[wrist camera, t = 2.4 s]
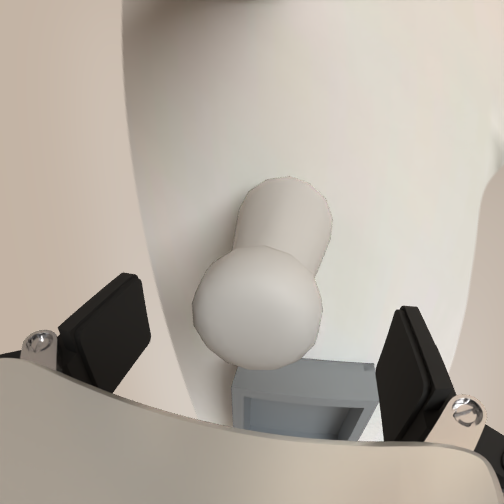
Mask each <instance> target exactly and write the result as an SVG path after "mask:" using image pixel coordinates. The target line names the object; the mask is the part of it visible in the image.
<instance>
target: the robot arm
mask: <svg viewBox="0 0 504 504" xmlns="http://www.w3.org/2000/svg"><path fill="white" fill-rule="evenodd" d="M58 329H59V332H60V335H59V336H58V337H57V335H56V334H55V333H54V332H52V331H50V330H40V331H37V332H34V333H32V334H30V335H29V336H28V337H27V338H26V339H25V340H24V342H23V345H22V350H20V351H15V352H10V353H5V354H1V355H0V504H504V435H502V434H500V433H499V432H497V431H496V430H494V429H492V428H491V427H489V426H487V425H486V424H485V423H486V420H487V413H486V409H485V407H484V405H483V404H482V403H481V402H480V401H479V400H478V399H476V398H475V397H472V396H470V395H464V394H462V395H457V396H456V393H455V390H454V388H453V385H452V383H451V380H450V377H449V375H448V372H447V370H446V367H445V365H444V362H443V360H442V358H441V355H440V353H439V351H438V348H437V346H436V345H435V343H434V341H433V339H432V337H431V334H430V332H429V330H428V328H427V326H426V324H425V321H424V319H423V317H422V315H421V313H420V311H419V309H418V307H413V306H402V307H401V308H400V310H396V311H395V313H394V316H393V319H392V323H391V326H390V329H389V332H388V335H387V338H386V341H385V344H384V347H383V350H382V353H381V355H380V358H379V361H378V364H377V367H376V372H375V376H376V382H377V389H378V396H379V403H380V410H381V418H382V427H383V436H384V441H345V440H326V439H313V438H302V437H293V436H284V435H277V434H270V433H263V432H257V431H251V430H245V429H239V428H234V427H229V426H224V425H219V424H214V423H210V422H206V421H201V420H197V419H193V418H189V417H185V416H181V415H178V414H174V413H171V412H167V411H163V410H160V409H157V408H154V407H150V406H147V405H144V404H141V403H138V402H135V401H132V400H129V399H126V398H123V397H120V396H117V395H115V394H112V393H113V392H114V390H115V389H116V388H117V386H118V385H119V384H120V382H121V381H122V379H123V378H124V377H125V375H126V374H127V372H128V371H129V370H130V368H131V367H132V366H133V364H134V363H135V362H136V360H137V359H138V357H139V356H140V355H141V353H142V352H143V351H144V350H145V348H146V347H147V346H148V344H149V342H150V339H151V333H150V328H149V323H148V317H147V312H146V306H145V300H144V294H143V288H142V282H141V280H140V279H138V276H137V275H135V274H129V273H121V274H120V275H119V276H117V277H116V278H115V279H114V280H112V281H111V282H110V283H109V284H108V285H106V286H105V287H104V288H103V289H102V290H100V291H99V292H98V293H97V294H96V295H94V296H93V297H92V298H91V299H90V300H89V301H87V302H86V303H85V304H84V305H83V306H82V307H80V308H79V309H78V310H77V311H76V312H75V313H73V314H72V315H71V316H70V317H69V318H68V319H67V320H65V321H64V322H63V323H62V324H61V325H60V326H59V327H58Z"/></svg>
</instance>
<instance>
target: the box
mask: <svg viewBox="0 0 504 504" xmlns="http://www.w3.org/2000/svg"><path fill="white" fill-rule="evenodd" d="M231 391H232V414H233V427H234V428H239V429H245V430H251V431H257V432H263V433H270V434H277V435H284V436H293V437H302V438H313V439H326V440H345V441H358V439H359V438H360V436H361V434H362V433H363V431H364V429H365V427H366V425H367V424H368V422H369V420H370V418H371V416H372V414H373V412H374V410H375V408H376V406H377V405H378V403H379V396H378V389H377V382H376V376H375V368H374V364H372V363H354V362H339V361H326V360H315V359H305V358H301V359H300V360H299V361H296V362H294V363H291V364H289V365H286V366H284V367H281V368H279V369H275V370H248V369H245V368H242V367H239V366H238V368H237V371H236V374H235V377H234V380H233V383H232V386H231Z"/></svg>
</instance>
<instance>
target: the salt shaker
mask: <svg viewBox="0 0 504 504" xmlns="http://www.w3.org/2000/svg"><path fill="white" fill-rule="evenodd" d="M332 221H333V218H332V215H331V212H330V209H329V206H328V203H327V200H326V198H325V197H324V196H323V195H322V194H321V193H319V192H318V191H317V190H316V189H315V188H314V187H313V186H312V185H311V184H310V183H307V182H305V181H302V180H299V179H296V178H293V177H290V176H287V177H280V178H273V179H267V180H265V181H264V182H262V183H260V184H259V185H257V186H256V187H254V188H253V189H251V190H250V191H249V192H248V194H247V196H246V198H245V200H244V201H243V203H242V205H241V207H240V209H239V214H238V219H237V225H236V231H235V236H234V242H233V248H232V251H231V252H230V253H228V254H226V255H225V256H223V257H221V258H220V259H218V260H216V261H215V262H213V263H212V265H211V266H210V267H209V268H208V269H207V270H206V272H205V274H204V276H203V278H202V280H201V282H200V284H199V286H198V288H197V290H196V293H195V296H194V299H193V302H192V308H193V323H194V327H195V328H196V330H197V332H198V333H199V335H200V337H201V338H202V340H203V341H204V343H205V344H206V346H207V347H208V348H209V349H210V350H211V351H213V352H214V353H215V354H216V355H218V356H219V357H220V358H222V359H223V360H224V361H226V362H227V363H230V364H233V365H236V366H239V367H242V368H245V369H248V370H275V369H279V368H281V367H284V366H286V365H289V364H291V363H294V362H296V361H299V360H300V359H301V358H302V357H303V356H304V355H305V354H306V353H307V352H308V351H309V350H310V349H311V348H312V347H313V345H314V344H315V342H316V339H317V336H318V332H319V327H320V322H321V317H322V312H323V306H322V299H321V296H320V293H319V290H318V287H317V284H316V281H315V276H316V274H317V271H318V269H319V266H320V264H321V262H322V259H323V257H324V254H325V252H326V249H327V247H328V244H329V242H330V239H331V230H332Z"/></svg>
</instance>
